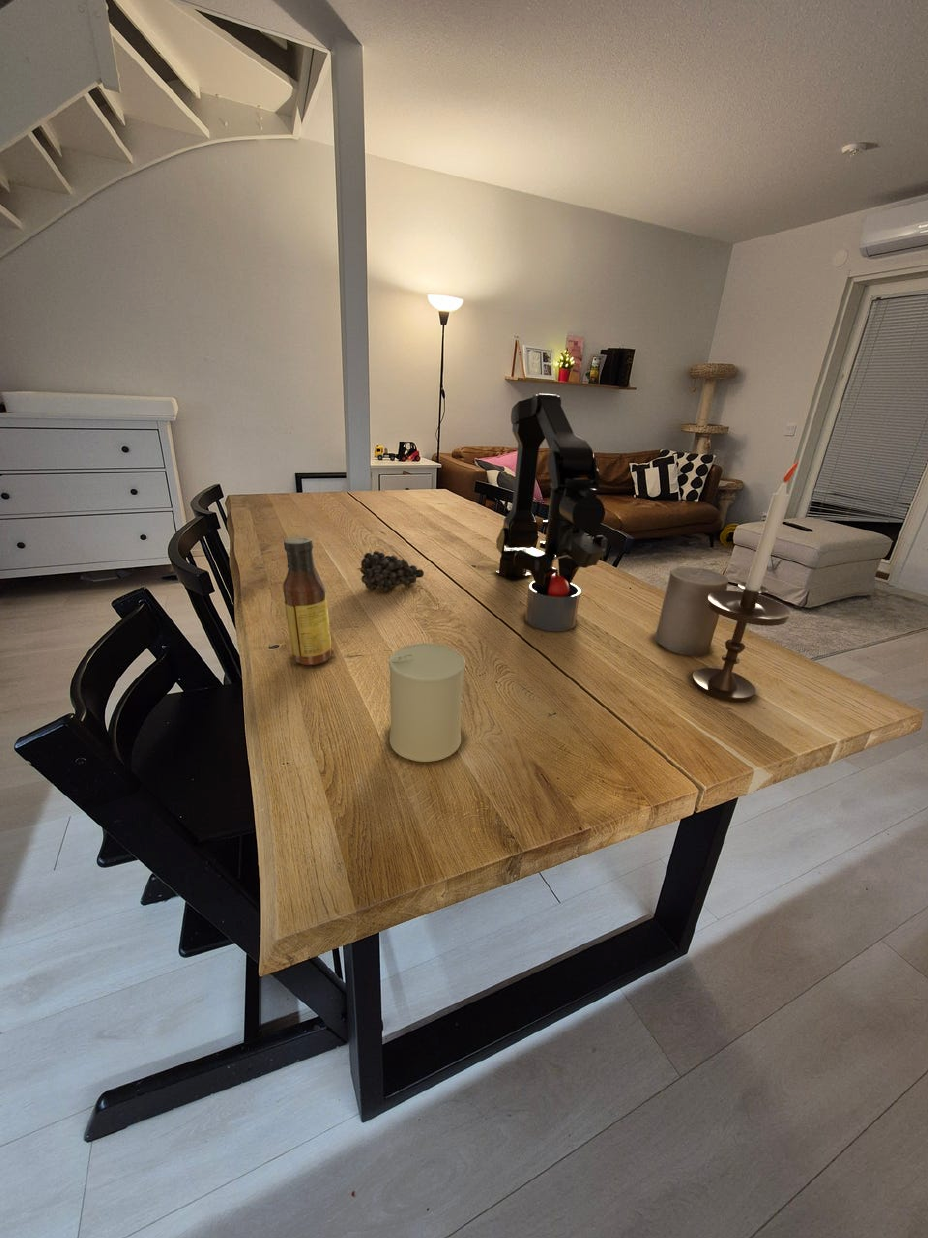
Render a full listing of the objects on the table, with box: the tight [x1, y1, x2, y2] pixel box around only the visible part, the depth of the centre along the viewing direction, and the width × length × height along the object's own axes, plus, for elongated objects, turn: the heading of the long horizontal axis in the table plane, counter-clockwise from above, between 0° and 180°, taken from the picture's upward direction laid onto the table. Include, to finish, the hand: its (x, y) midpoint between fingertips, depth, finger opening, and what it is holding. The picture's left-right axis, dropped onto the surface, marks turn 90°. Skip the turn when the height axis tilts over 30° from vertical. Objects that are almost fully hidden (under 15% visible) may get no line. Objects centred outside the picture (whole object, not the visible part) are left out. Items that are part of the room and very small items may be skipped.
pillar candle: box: [654, 565, 730, 656], centre depth 91 cm, size 10×10×15 cm
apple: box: [548, 570, 569, 597], centre depth 98 cm, size 6×6×6 cm
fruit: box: [356, 550, 425, 593], centre depth 111 cm, size 9×8×15 cm
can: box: [388, 642, 466, 763], centre depth 62 cm, size 9×9×12 cm
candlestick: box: [691, 459, 799, 704], centre depth 73 cm, size 11×11×35 cm
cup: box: [524, 580, 582, 632], centre depth 99 cm, size 10×10×7 cm
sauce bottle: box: [282, 536, 332, 666], centre depth 78 cm, size 7×6×20 cm
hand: (553, 595), depth 98 cm, fingers closed on apple, 5 cm apart
